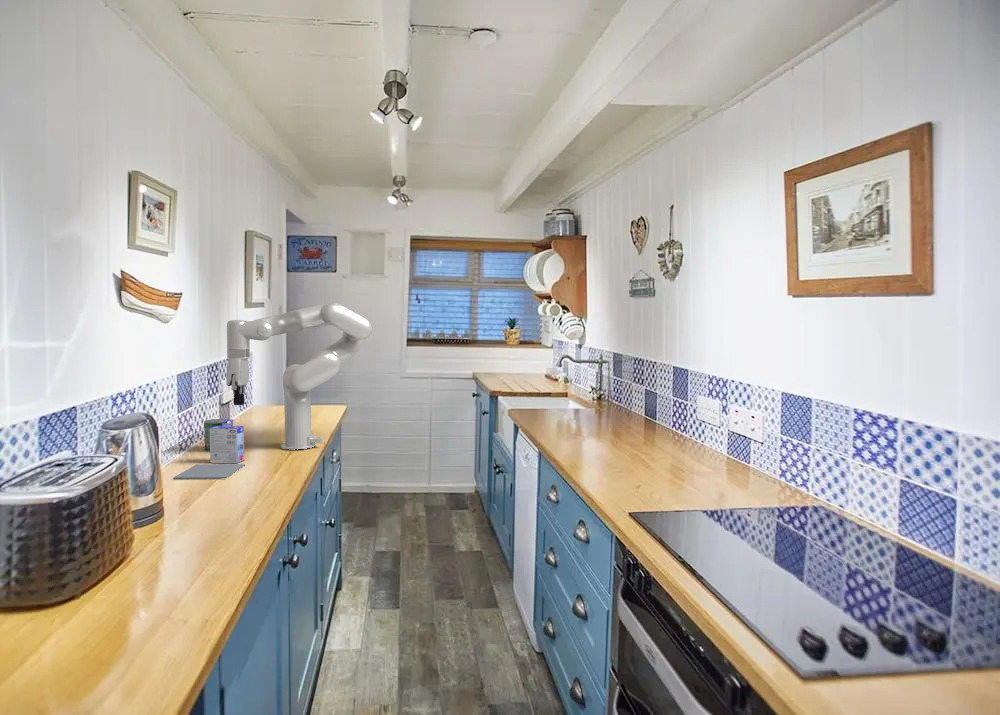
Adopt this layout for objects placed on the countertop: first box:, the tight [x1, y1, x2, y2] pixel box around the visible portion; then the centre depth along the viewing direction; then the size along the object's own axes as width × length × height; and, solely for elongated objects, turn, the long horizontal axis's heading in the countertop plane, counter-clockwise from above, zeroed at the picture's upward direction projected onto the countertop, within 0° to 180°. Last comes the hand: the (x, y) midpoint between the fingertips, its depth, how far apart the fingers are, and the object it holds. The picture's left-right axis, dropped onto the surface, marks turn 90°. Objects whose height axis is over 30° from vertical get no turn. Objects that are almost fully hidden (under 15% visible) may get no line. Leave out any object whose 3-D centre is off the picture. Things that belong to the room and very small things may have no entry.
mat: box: [172, 463, 246, 480], centre depth 198 cm, size 16×16×1 cm
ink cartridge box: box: [209, 418, 245, 464], centre depth 212 cm, size 10×6×14 cm, turn 89°
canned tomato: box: [203, 418, 228, 453], centre depth 229 cm, size 8×8×11 cm
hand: (239, 404), depth 224 cm, fingers closed
